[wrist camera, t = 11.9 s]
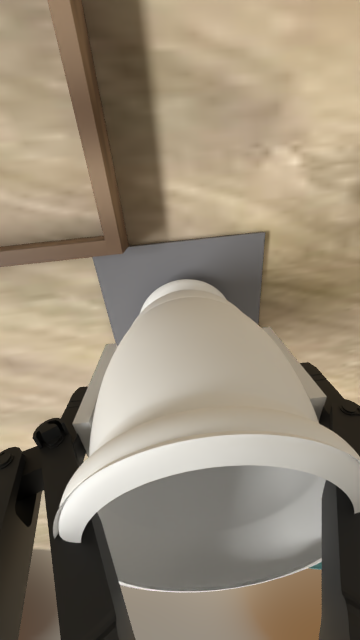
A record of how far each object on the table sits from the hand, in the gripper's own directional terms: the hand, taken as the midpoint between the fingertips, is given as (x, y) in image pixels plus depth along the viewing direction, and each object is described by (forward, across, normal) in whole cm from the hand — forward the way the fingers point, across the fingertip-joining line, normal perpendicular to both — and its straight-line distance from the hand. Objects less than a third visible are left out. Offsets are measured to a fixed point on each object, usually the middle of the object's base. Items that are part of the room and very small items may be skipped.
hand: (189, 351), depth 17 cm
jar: (+4, 0, 0) cm, 4 cm away
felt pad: (+6, 0, 0) cm, 6 cm away
